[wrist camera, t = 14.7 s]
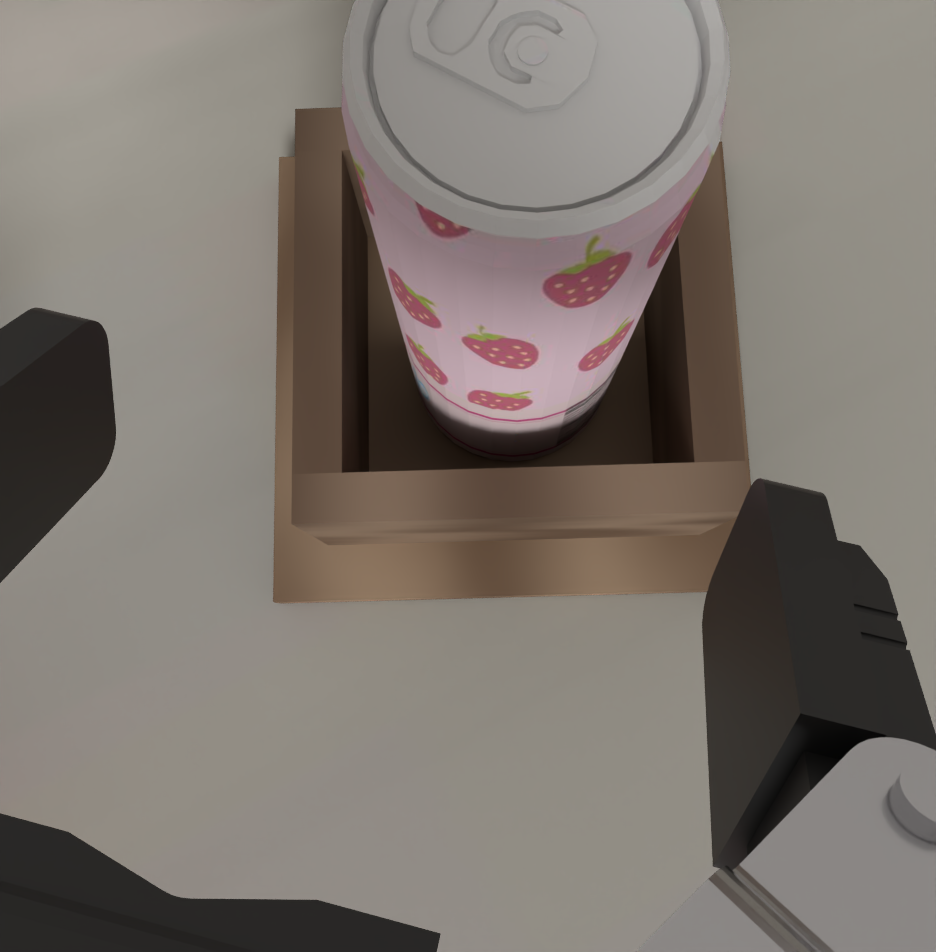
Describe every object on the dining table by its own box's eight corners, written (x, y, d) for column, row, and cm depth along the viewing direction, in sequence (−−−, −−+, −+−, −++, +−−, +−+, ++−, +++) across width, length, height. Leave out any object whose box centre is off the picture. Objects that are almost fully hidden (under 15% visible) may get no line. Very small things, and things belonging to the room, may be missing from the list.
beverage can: (425, 275, 27) (348, -146, 13) (610, 288, 27) (754, -126, 12) (408, 456, 26) (302, 227, 12) (600, 470, 26) (742, 256, 11)
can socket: (713, 158, 29) (772, 35, 23) (749, 590, 26) (824, 577, 21) (286, 173, 29) (235, 55, 23) (281, 603, 27) (222, 593, 21)
